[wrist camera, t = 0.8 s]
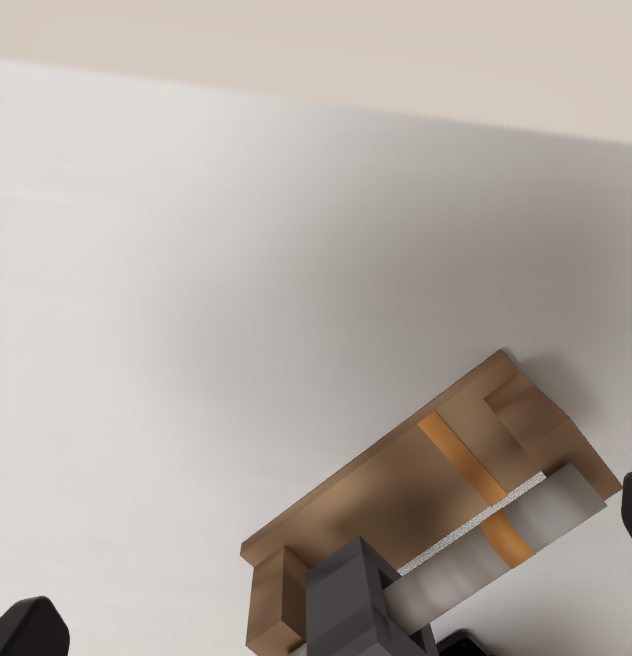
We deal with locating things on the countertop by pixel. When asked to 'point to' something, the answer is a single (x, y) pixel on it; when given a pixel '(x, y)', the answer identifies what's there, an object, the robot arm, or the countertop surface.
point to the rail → (434, 505)
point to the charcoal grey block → (357, 608)
